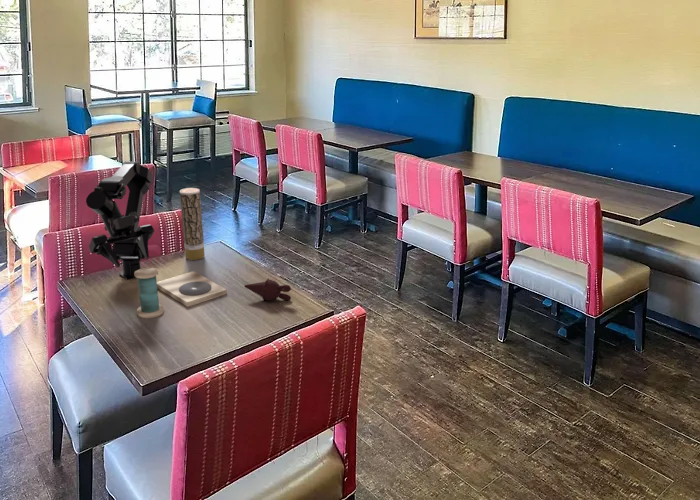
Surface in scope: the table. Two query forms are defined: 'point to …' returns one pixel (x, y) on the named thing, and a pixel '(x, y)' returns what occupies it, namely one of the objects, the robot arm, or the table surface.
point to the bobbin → (148, 293)
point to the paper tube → (192, 223)
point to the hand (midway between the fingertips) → (133, 262)
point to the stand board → (191, 288)
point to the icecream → (270, 290)
